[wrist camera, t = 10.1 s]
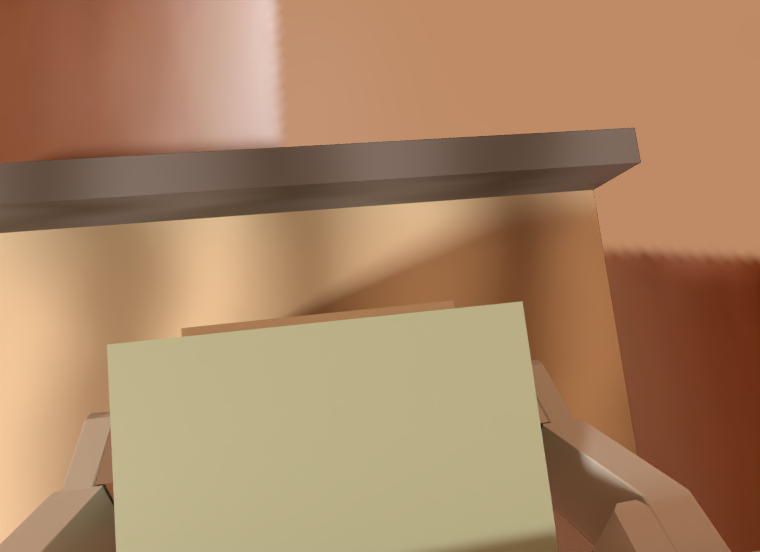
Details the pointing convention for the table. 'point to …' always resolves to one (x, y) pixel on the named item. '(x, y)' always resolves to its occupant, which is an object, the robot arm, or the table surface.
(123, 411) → the carton
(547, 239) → the shelf
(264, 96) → the table surface
